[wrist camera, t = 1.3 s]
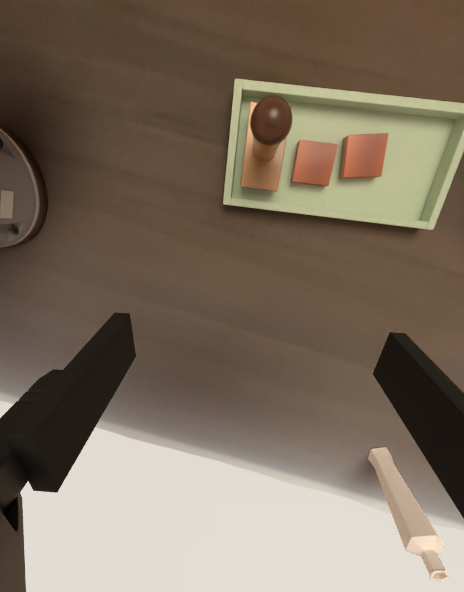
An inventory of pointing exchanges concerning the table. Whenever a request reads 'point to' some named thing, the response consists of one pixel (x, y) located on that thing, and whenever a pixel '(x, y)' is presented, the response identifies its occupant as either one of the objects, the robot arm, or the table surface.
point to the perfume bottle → (408, 514)
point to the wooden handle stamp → (265, 143)
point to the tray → (332, 129)
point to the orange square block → (363, 156)
